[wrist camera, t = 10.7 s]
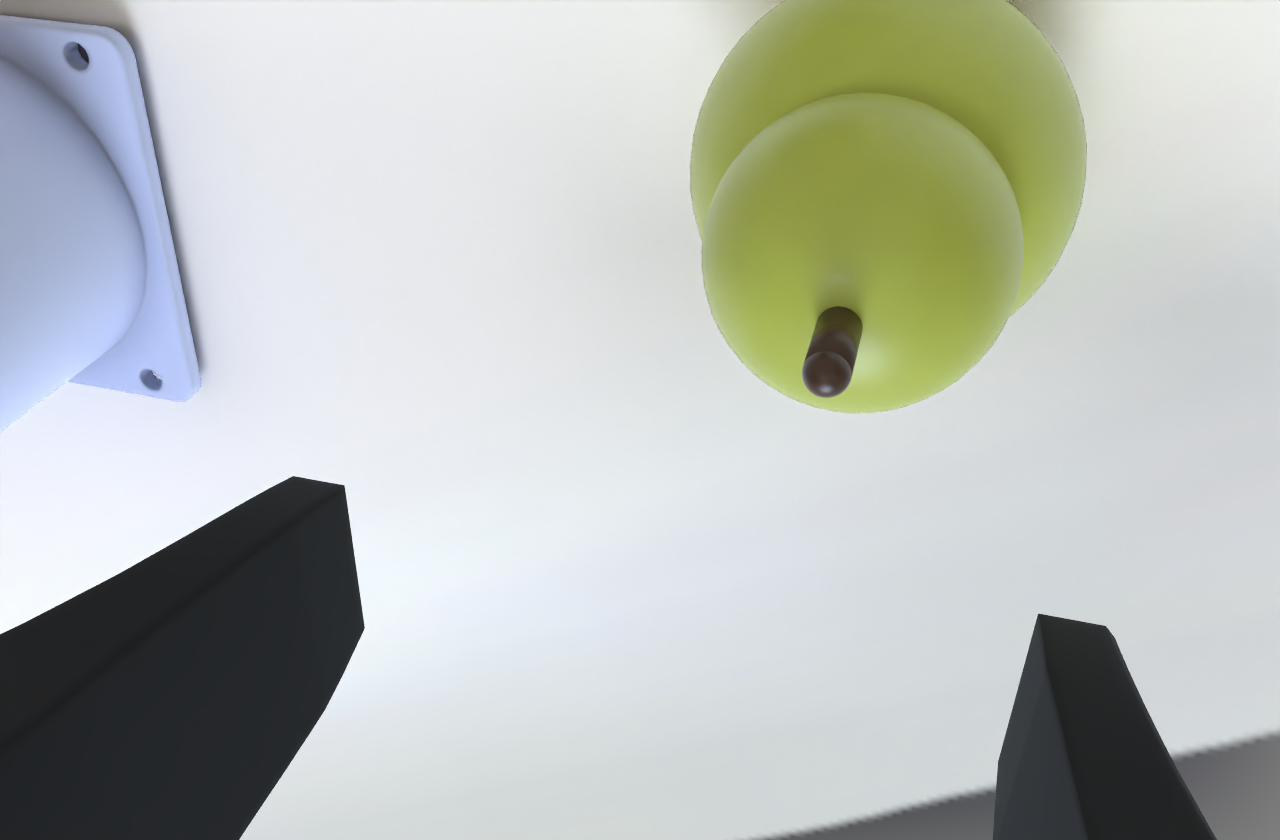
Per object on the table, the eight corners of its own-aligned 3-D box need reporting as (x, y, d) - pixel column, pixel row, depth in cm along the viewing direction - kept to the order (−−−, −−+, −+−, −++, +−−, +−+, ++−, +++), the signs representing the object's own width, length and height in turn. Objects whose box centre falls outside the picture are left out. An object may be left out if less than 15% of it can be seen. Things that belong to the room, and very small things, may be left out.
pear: (724, 238, 21) (565, 546, 14) (747, -87, 18) (562, 86, 11) (1037, 280, 20) (1047, 641, 13) (1116, -57, 17) (1188, 156, 10)
